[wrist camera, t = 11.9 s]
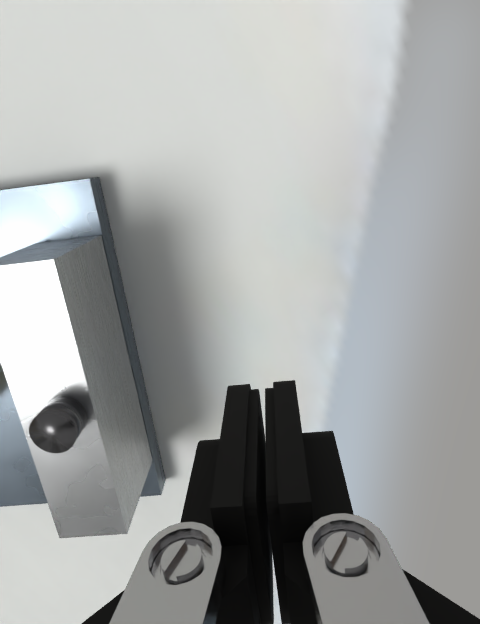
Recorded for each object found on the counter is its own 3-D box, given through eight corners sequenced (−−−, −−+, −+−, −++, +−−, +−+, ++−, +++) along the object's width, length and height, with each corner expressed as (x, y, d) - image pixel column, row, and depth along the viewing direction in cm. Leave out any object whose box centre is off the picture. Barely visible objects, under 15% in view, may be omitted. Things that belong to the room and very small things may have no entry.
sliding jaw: (152, 460, 19) (118, 557, 15) (97, 464, 20) (47, 562, 15) (101, 235, 16) (36, 268, 11) (36, 243, 16) (-54, 278, 12)
